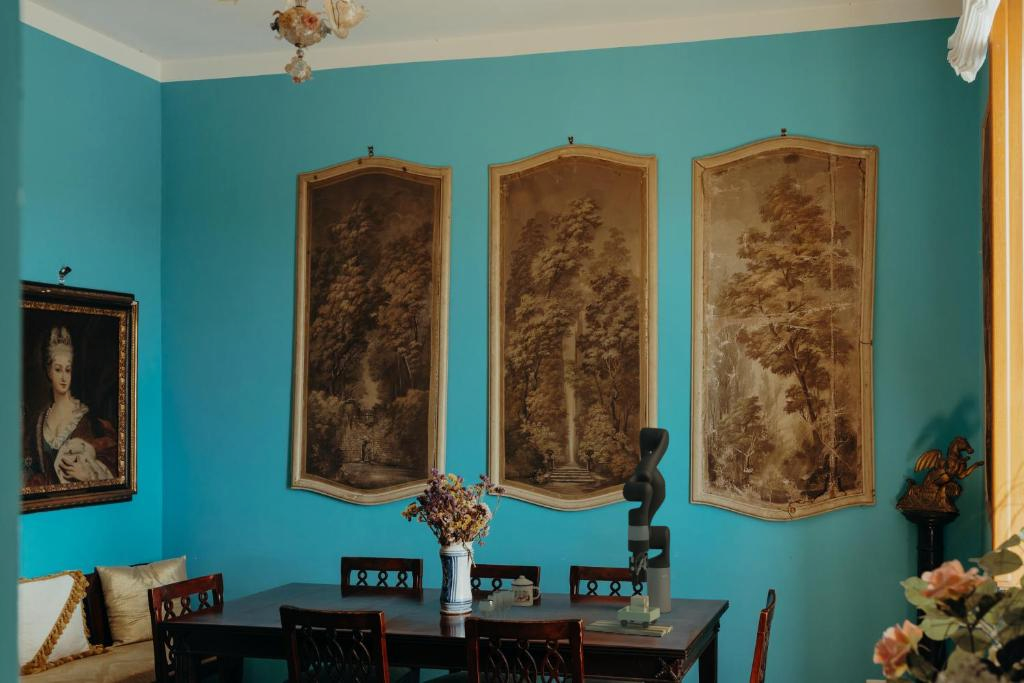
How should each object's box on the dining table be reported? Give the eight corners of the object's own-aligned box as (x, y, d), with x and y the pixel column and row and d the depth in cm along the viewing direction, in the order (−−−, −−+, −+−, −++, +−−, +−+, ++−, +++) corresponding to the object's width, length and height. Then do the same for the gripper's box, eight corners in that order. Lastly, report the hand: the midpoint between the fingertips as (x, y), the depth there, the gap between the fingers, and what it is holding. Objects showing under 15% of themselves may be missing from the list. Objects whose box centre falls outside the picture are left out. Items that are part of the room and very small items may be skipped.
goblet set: (503, 622, 399) (503, 586, 400) (517, 622, 397) (517, 586, 398) (476, 636, 373) (476, 597, 374) (491, 637, 371) (491, 598, 372)
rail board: (599, 624, 393) (599, 618, 394) (672, 630, 381) (672, 624, 382) (585, 630, 381) (585, 625, 381) (661, 637, 369) (660, 631, 369)
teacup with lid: (510, 606, 431) (510, 577, 432) (511, 602, 440) (511, 574, 441) (539, 607, 430) (539, 577, 431) (540, 603, 439) (540, 574, 440)
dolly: (628, 621, 387) (627, 605, 388) (659, 623, 382) (659, 608, 383) (617, 626, 377) (617, 610, 378) (650, 629, 372) (650, 613, 373)
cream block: (635, 612, 383) (635, 595, 384) (648, 613, 381) (648, 596, 382) (630, 614, 379) (630, 597, 379) (644, 615, 377) (644, 598, 377)
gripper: (641, 540, 374) (642, 587, 373) (654, 536, 387) (655, 581, 386) (621, 539, 377) (622, 586, 376) (634, 535, 390) (635, 580, 389)
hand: (638, 583), depth 381 cm, fingers open, 8 cm apart
